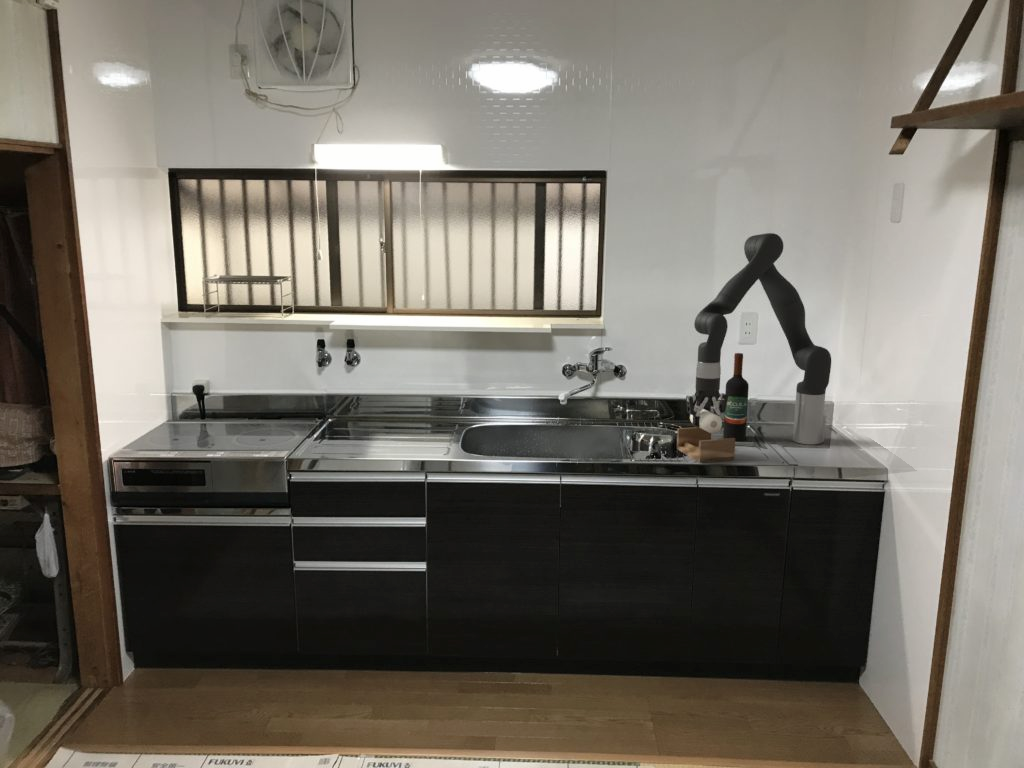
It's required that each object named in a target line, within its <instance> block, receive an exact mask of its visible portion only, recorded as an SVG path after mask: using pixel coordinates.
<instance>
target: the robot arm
mask: <svg viewBox="0 0 1024 768" xmlns="http://www.w3.org/2000/svg"><path fill="white" fill-rule="evenodd" d="M743 250H744V256H745V258H746V260H747V261H748V262H747V264H746V265H745V266H744V267H743V268H742V269H741V270H739V271H738V272H737V273H736V274H734V275H733V276H732V277H731V278H730V279H729V280H728V281H727V282H726V283H725V284H724V285H723V287H722V288H721V290H720V291H719V292H718V294H717V295H716V297H715V298H714V299H713V300H712V301H710V302H709V303H708V304H707V305H706V306H705V307H703V309H702V310H700V311H699V312H698V314H697V315H696V317H695V320H694V328H695V331H696V332H697V333H698V334H701V335H708V336H707V340H706V342H700V344H699V345H698V348H697V349H698V350H697V363H696V367H695V368H696V372H695V392H694V394H693V395H686V396H685V402H686V412H687V413H688V414H689V415H693V424H692V425H693V426H694V427H696V428H698V427H699V419H700V417H699V414H700V412H701V411H702V410H703V409H705V408H706V407H710V408H711V410H712V413H713V414H715V415H717V416H719V417H720V415H721V414H724V412H725V411H726V405H727V400H728V395H726V394H725V393H723V392H722V393H720V389H721V388H720V387H721V374H722V371H721V370H722V365H721V356H722V355H721V353H722V348H723V344H724V342H725V338H726V335H727V332H728V320H727V318H726V316H725V315H730V314H732V313H734V312H735V310H736V308H737V307H738V306H739V304H740V303H741V302H742V300H743V299H744V298H745V296H746V295H747V294H748V292H749V291H750V290H751V288H752V287H753V286H754V285H755V284H756V282H757V281H758V280H759V283H760V284H761V287H762V288H763V290H764V293H765V295H766V297H767V299H768V301H769V302H770V303H769V304H770V306H771V309H772V310H773V312H774V316H776V320H777V321H778V322H779V325H780V328H781V329H782V331H783V334H784V335H785V338H786V340H787V343H788V345H789V350H790V352H791V354H792V358H793V361H794V363H795V365H796V366H797V367H798V369H800V370H802V371H804V373H803V375H804V376H803V379H802V381H799V382H798V383H797V385H796V391H795V406H794V418H793V420H794V421H793V435H792V440H793V442H795V443H799V444H803V445H819V444H822V443H825V437H826V425H827V424H826V423H827V415H826V414H825V402H826V401H825V400H826V392H827V391H826V390H827V388H828V385H829V384H830V383H829V382H830V377H831V369H832V355H831V353H830V351H829V350H828V349H827V348H825V347H823V346H820V345H817V344H816V345H815V343H814V342H813V341H812V339H811V337H810V334H809V333H808V331H807V328H806V308H805V306H804V302H803V300H802V298H801V296H800V294H799V292H798V290H797V288H796V287H794V285H793V284H792V283H791V282H790V281H789V280H788V279H787V278H786V277H784V275H782V273H780V272H779V270H778V269H777V267H776V266H775V263H776V262H777V260H778V259H779V258H780V257H781V255H782V253H783V251H784V242H783V239H782V237H781V236H780V235H778V234H776V233H773V232H772V233H771V232H769V233H768V232H767V233H762V234H755V235H751V236H749V237H747V238H746V240H745V243H744V245H743ZM718 400H719V403H718V402H717V401H718ZM695 401H696V402H695Z"/></svg>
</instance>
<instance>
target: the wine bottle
mask: <svg viewBox="0 0 1024 768" xmlns="http://www.w3.org/2000/svg"><path fill="white" fill-rule="evenodd" d="M733 358H734V363H733V375H732V377H731V378H730V379H728V380H727V382H726V384H725V391H724V392H725V393H724V394H726V395H728V400H727V405H726V411H725V412H724V413H723V430H722V431H723V433H722V434H723V435H722V437H723V438H722V439H725V438H735V442H744V441H746V440H747V439H746V438H747V423H748V407H749V406H748V402H749V387H750V386H749V382H748V381H747V379H745V378H744V377H743V363H744V362H743V361H744V353H740V352H735V353H734V356H733Z"/></svg>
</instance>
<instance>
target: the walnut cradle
mask: <svg viewBox="0 0 1024 768" xmlns="http://www.w3.org/2000/svg"><path fill="white" fill-rule="evenodd" d="M676 431H677V432H676V450H677V451H679V452H681V453H682V454H684V455H686V456H688V457H689V458H691V459H692V458H693V460H694V459H695V460H694V461H696V462H697V461H699V462H706V463H709V462H708V461H716V462H724V461H726V460H727V461H735V451H736V449H735V448H736V441H735V438H725V439H724V438H717V439H716V438H715V439H712V433H709V432H707V431H705V430H703V429H701V428H699V427H698V428H696V427H693V426H692V427H681V428H677V429H676ZM727 461H726V462H727ZM699 462H698V463H699Z"/></svg>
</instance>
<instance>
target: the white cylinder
mask: <svg viewBox="0 0 1024 768" xmlns="http://www.w3.org/2000/svg"><path fill="white" fill-rule="evenodd" d="M699 417H700V419H699V428H701V429H703V430H705V431H707V432H709V433H711V434H716V433H717V432H719V431H720V430H721V429H722V426H723V421H722V418H721V417H720V415H719V416H717V415H715V414H714V413H713V412H711V411H709V410H707V409H705V408H703V410H702V411H701V412H700V414H699ZM689 420H690V422H691V424H692V425H693V415H691V414H689Z"/></svg>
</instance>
